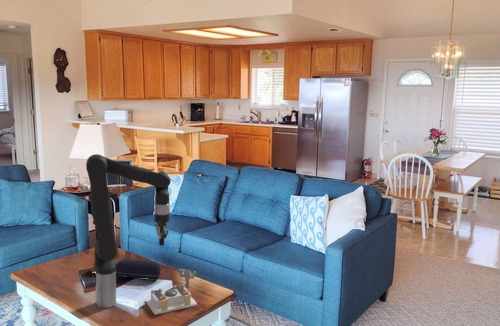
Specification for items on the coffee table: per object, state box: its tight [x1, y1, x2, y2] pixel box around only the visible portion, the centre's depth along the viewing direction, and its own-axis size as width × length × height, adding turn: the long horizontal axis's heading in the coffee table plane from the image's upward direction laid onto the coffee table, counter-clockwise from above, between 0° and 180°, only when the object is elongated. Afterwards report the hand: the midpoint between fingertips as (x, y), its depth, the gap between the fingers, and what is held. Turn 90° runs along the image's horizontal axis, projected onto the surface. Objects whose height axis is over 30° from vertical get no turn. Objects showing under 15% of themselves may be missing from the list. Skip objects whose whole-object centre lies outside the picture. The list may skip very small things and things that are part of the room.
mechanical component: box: [177, 268, 198, 289], centre depth 244 cm, size 3×10×10 cm, turn 78°
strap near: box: [154, 289, 166, 300], centre depth 222 cm, size 2×12×2 cm, turn 30°
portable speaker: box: [116, 258, 162, 280], centre depth 253 cm, size 25×10×10 cm, turn 85°
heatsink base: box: [146, 283, 198, 316], centre depth 226 cm, size 22×15×6 cm
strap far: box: [176, 285, 190, 296], centre depth 228 cm, size 2×12×2 cm, turn 30°
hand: (161, 245), depth 226 cm, fingers closed
